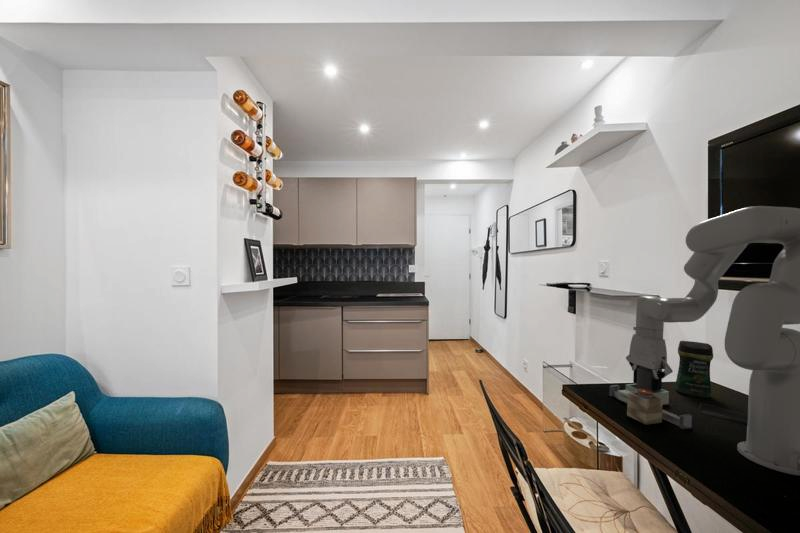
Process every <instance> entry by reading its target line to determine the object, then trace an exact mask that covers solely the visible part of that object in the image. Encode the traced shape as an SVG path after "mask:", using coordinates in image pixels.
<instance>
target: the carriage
mask: <svg viewBox="0 0 800 533" xmlns="http://www.w3.org/2000/svg"><path fill="white" fill-rule="evenodd" d="M628 392H637V388H636V383H629V384H628V383H627V384H625V389H619V391H618V393H619V394H618V398H617V399H618V400H619V401H621V402H624V403H625V404H627V401H628V398H627V397H628ZM620 394H621V395H620ZM653 395H655V396H657V397H660V398H662V399H663V405H669V401H670V400H669V399H670V391H668V390H666V389H663V388H661V390H658V392H656V393H653ZM625 396H626V397H625ZM663 405H662V406H663Z"/></svg>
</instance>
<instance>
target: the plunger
mask: <svg viewBox="0 0 800 533" xmlns="http://www.w3.org/2000/svg"><path fill="white" fill-rule="evenodd" d="M637 391H638V396H640V397H642V398H645V399H652V397H653V391H651V390H648V389H643V388H638V389H637Z"/></svg>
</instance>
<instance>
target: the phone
mask: <svg viewBox="0 0 800 533" xmlns="http://www.w3.org/2000/svg"><path fill="white" fill-rule="evenodd" d="M697 412H698V413H700V412H701V413H700V414H705V415H708V416H712V417H715V418H719V419H723V420H726V421H727V420H728V421H731V422H734V423H739V424H742V425H745V426H746V425H747V419H748V413H744V412H741V411H737V410H731V409H728V408H724V407H720V406H717V405H716V406H715V405H711V404H707V403H702V402H701V403H699V405H698V407H697Z"/></svg>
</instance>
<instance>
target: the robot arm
mask: <svg viewBox="0 0 800 533" xmlns="http://www.w3.org/2000/svg"><path fill="white" fill-rule="evenodd" d="M752 243H755V244H756V243H758V244H759V243H761V244H762V243H763V244H764V243H765V244H781V245H782V246H783V248H782V250H781V251H780V252H779V253H778V255H777V256H776V258H775V259H774V261H773V264H772V267H771V272H770V273H771V274H770V277H769V278H768V281H767V282H757V283H751V284H749V285H747V286H745V287H743V288H742V289H741V290H740V291H739V292H738V293H737V294H736V295H735V297H734V299H733V301H732V305H731V309H730V312H729V317H728V322H727V326H726V330H725V337H724V350H725V353H726V355H727V358H729V360H730V361H731V362H732V363H733V364H734V365H736V366H738V367H739V368H742V369H745V370H749V371H751V374H750V378H749V384H748V400H747V401H748V402H747V414H748V419H747V426H746V439H745V441H740V442H738V443H737V446H736V448H737V449H736V450H737V451H738V453H739V454H740V455H741V456H743V457H744V458H746V459H747V460H749V461H752V462H753V463H755V464H758V465H760V466H762V467H764V468H765V467H766V468H767V469H770V470H774V471H776V472H780V473H784V474H788V475H793V476H799V477H800V331H799V330H796V329H793V328H789V327H783V326H784V325H785V326H786V325H787V326H789V325H790V326H791V325H800V208H799V207H798V208H797V207H790V206H768V205H756V206H755V205H754V206H752V205H751V206H747V207H743V208H740V209H736V210H734V211H729V212H728V213H725V214H722V215H718V216H716V217H715V216H714V217H712V218H708V219H707V220H703V221H701V222H699V223H697V224H695V225H694V226H692V227H691V228H690V230H689V231H688V232H687V233H686V236H685V244H686V246H687V248H688V249H689V250H690V251H691V252H693V254H692V255H691V256H690V258H689V259H688V260H687V261H686V263H685V264H684V266H683V271H684V273H685V274H686V275H687V276H688V277H689V278H691V279H693V280H694V284H693V286H692V288H691V289H690V291H689V292H688V293H687V295H686V296H685V297H660V296H656V295H640V296H638V297H637V299H636V312H635V314H636V315H635V316H636V317H635V325H634V326H633V331H634V332H635V333H634V334H632V337H631V340H630V344H629V351H628V352H629V354H628V355H626V356H625V359H626V361H627V362H628V363H629V365H630V367H631V370H632V371H633V378H632V379H633V384H636V382H637V368H638V367H640V366H642V367H645V368H648V369H651V370H652V371H653V374H654V378H653V379H652V390H654V391H657V390H661V389H662V384H663V383H662V382H663V379H665V378H666V377H667V376H668V375H670V374H672V373H673V372H674V371H673V369H672V367H671V366H670V365H669V364H668V351H667V345H666V344H667V343H666V340H665V338H664V326H665V325H664V324H665V323H691V322H696V321H698V320H700V319H701V318H703V316H705V314H706V313H708V312H709V310H710V309H712V307H713V305H714V304H715V302H716V301H717V298H718V296H719V295H718V294H719V280H721V278H722V277H723V276H724V275H725V273H726V272H727V271H728V269H729V268H730V267H731V266H732V265H733V264H734V262H735V261H736V260H737V259H738V257H739V256H740V255H741V254H742V253H743V251H744V250H745V249H746V248H747V247H748V245H749V244H752ZM657 371H658V372H657Z"/></svg>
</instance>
